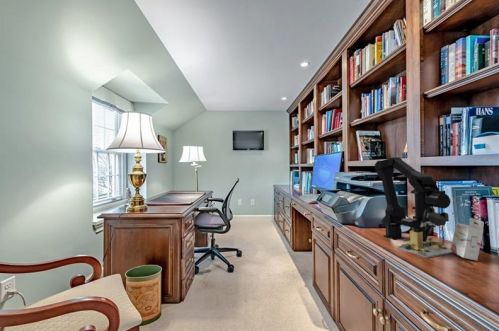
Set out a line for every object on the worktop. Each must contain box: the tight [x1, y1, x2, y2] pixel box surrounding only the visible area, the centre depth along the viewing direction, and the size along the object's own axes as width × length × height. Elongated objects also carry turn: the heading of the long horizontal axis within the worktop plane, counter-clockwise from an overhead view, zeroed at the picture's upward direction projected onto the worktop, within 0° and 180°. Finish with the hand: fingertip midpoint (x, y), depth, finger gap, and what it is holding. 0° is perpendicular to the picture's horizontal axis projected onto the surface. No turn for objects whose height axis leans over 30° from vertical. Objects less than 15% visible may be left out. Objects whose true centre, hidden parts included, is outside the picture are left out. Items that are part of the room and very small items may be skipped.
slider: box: [404, 228, 425, 251], centre depth 105 cm, size 8×3×8 cm, turn 17°
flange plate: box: [397, 244, 455, 259], centre depth 105 cm, size 13×19×1 cm
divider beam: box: [401, 237, 445, 249], centre depth 107 cm, size 8×18×3 cm, turn 107°
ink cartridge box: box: [450, 217, 485, 262], centre depth 96 cm, size 9×5×15 cm, turn 168°
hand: (424, 241), depth 106 cm, fingers closed
